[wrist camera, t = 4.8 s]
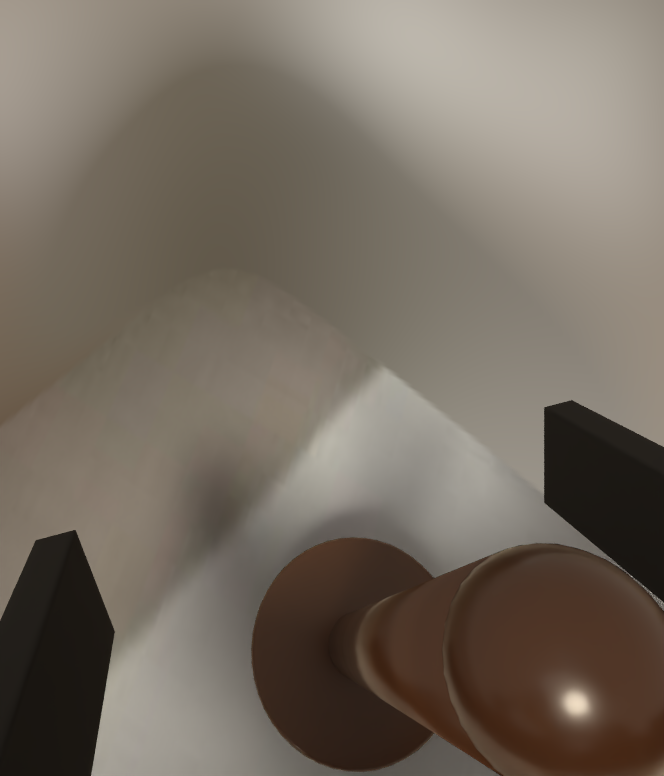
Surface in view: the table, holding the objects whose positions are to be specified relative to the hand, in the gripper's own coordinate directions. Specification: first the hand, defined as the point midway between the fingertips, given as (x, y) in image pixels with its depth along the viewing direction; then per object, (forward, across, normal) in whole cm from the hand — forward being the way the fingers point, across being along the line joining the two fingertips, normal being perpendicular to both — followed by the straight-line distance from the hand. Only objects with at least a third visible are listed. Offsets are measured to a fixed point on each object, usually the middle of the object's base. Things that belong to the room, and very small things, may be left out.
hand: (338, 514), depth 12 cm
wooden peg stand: (+2, 0, -6) cm, 7 cm away
